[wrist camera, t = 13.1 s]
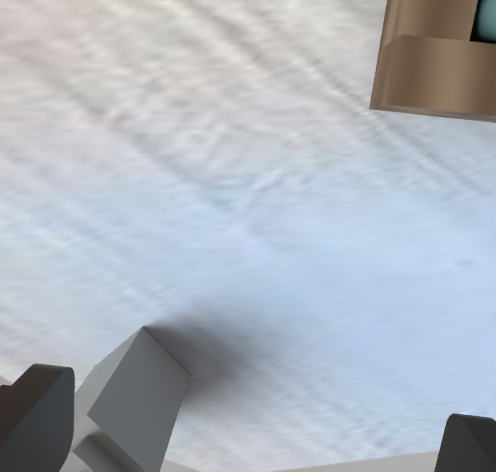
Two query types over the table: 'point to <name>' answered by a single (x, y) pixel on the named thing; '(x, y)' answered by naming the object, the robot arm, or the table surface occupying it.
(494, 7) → the pin
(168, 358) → the perfume bottle
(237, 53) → the table surface
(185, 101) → the table surface
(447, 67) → the bore block
